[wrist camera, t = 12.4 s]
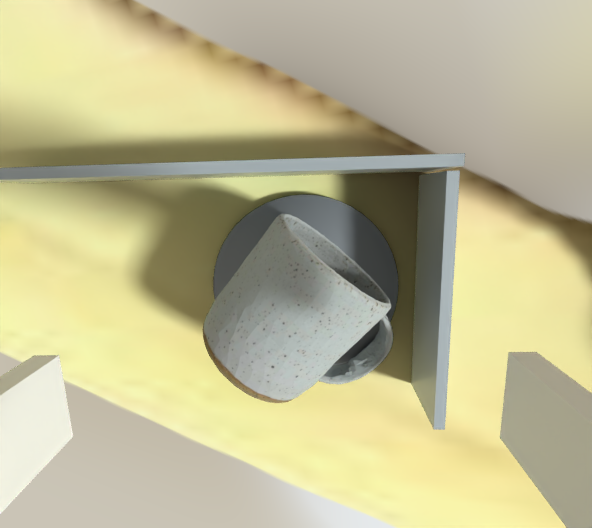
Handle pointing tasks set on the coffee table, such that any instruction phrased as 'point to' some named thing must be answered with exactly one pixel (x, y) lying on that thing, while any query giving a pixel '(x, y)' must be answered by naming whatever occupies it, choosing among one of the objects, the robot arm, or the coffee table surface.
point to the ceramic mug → (295, 316)
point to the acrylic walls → (432, 187)
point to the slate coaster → (334, 226)
